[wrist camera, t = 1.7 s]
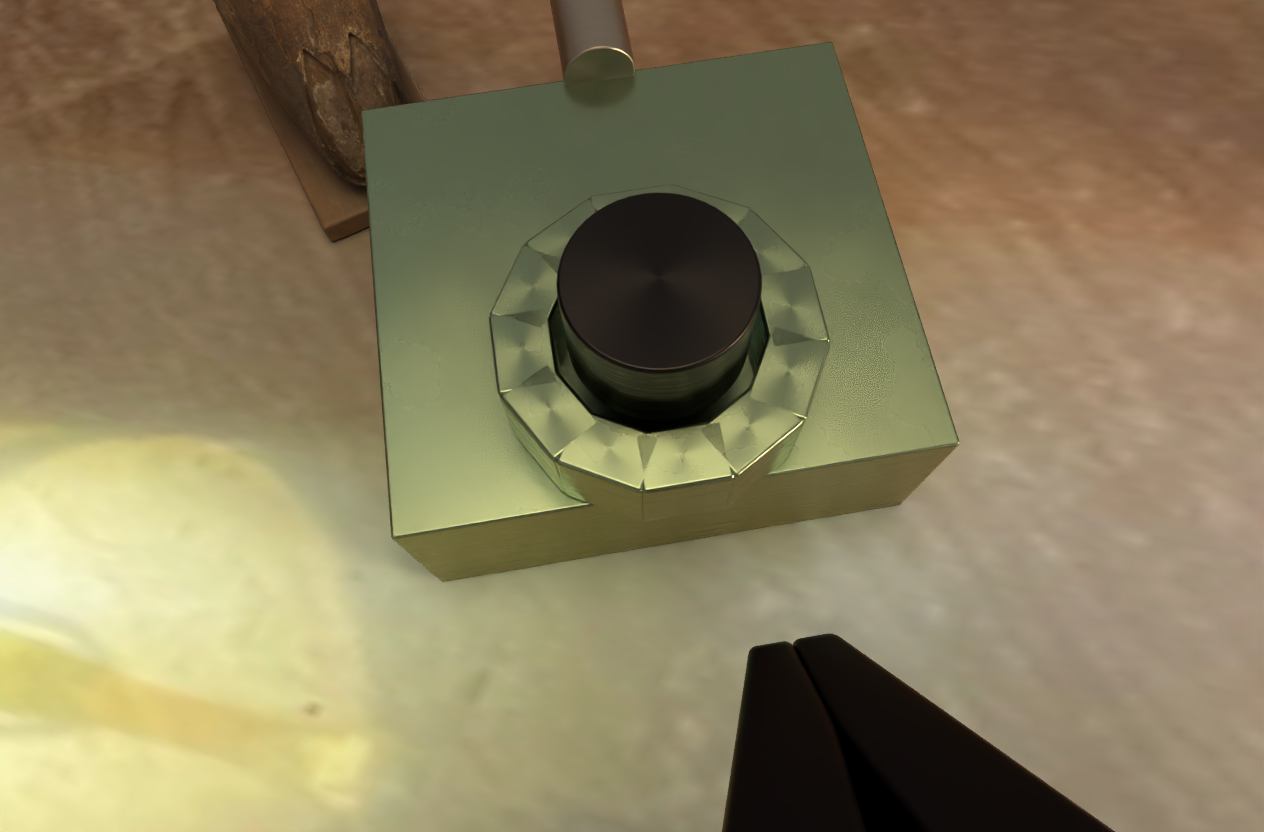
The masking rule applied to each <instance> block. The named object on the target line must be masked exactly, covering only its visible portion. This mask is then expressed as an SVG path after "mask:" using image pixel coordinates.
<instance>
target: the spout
mask: <svg viewBox="0 0 1264 832" xmlns="http://www.w3.org/2000/svg"><path fill="white" fill-rule="evenodd" d="M550 3H551V9H552V15H553V20H554V26H555V32H556V37H557V43H558V49H559V55H560V60H561V66H562V72H563V77H564V82H565V84H566V85H575V84H582V83H589V82H595V81H602V80H609V79H616V78H623V77H630V76H634V74H635V62H634V58H633V53H632V48H631V44H630V39H629V34H628V30H627V25H626V20H625V15H624V11H623V6H622V1H621V0H550Z"/></svg>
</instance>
